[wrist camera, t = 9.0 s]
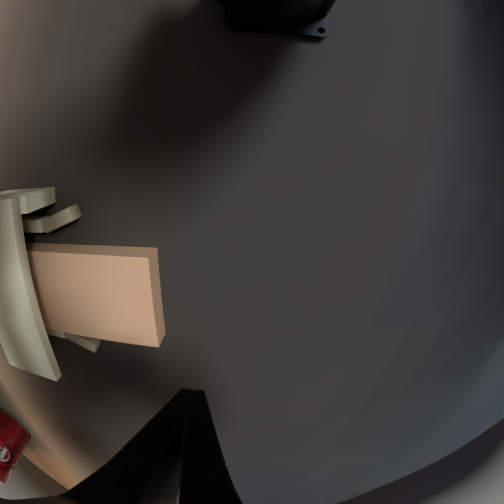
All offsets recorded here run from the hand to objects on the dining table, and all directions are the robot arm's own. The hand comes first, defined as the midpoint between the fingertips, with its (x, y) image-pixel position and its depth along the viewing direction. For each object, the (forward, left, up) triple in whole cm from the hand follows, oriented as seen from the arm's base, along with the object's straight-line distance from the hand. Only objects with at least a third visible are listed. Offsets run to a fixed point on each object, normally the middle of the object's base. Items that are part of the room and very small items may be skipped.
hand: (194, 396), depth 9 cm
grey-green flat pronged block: (+16, +2, -12) cm, 20 cm away
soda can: (+36, +31, -12) cm, 49 cm away
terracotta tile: (+12, +3, -12) cm, 17 cm away
